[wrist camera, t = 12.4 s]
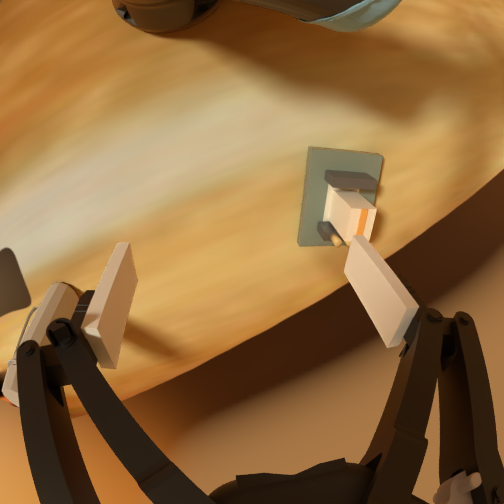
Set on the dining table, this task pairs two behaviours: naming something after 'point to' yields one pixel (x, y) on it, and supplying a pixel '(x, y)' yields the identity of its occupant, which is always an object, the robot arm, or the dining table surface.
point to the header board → (322, 184)
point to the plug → (351, 214)
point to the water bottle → (40, 328)
